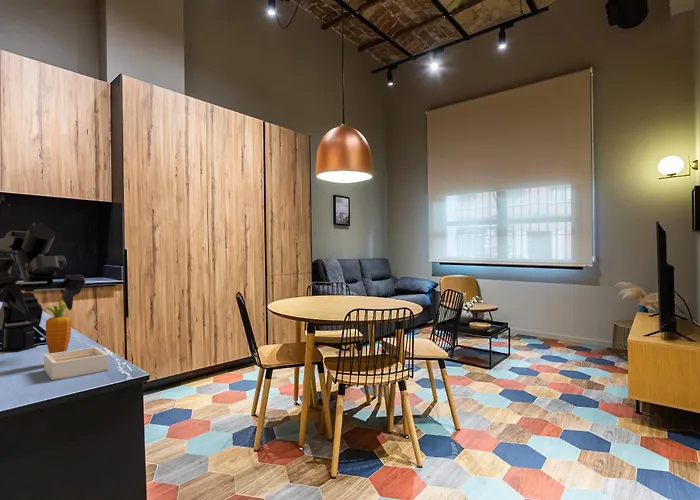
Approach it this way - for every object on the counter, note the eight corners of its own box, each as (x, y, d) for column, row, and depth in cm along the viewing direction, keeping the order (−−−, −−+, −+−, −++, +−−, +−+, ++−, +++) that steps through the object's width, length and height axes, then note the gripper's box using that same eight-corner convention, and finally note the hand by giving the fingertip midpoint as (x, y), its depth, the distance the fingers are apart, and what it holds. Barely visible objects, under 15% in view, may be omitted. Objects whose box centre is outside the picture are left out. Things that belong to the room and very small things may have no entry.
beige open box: (43, 370, 86) (44, 354, 86) (96, 361, 93) (96, 347, 94) (52, 380, 79) (52, 363, 79) (108, 370, 87) (108, 354, 87)
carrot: (56, 366, 89) (57, 303, 89) (39, 365, 90) (40, 302, 90) (75, 361, 93) (76, 301, 94) (59, 360, 94) (60, 300, 95)
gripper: (-5, 243, 90) (10, 292, 84) (83, 246, 106) (101, 287, 100) (-17, 275, 94) (-3, 324, 88) (69, 273, 110) (86, 314, 104)
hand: (49, 311), depth 95 cm, fingers open, 9 cm apart
